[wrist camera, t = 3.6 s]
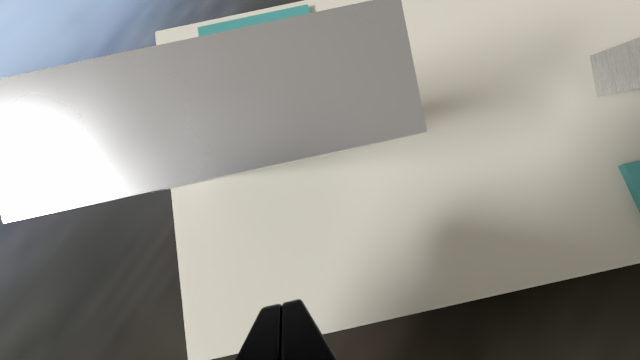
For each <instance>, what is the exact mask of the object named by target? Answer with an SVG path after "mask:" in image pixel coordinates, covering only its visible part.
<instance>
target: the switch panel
mask: <svg viewBox="0 0 640 360" xmlns="http://www.w3.org/2000/svg"><path fill="white" fill-rule="evenodd" d="M366 1H370V0H305V1H300V2H295V3H290V4H285V5H281V6H276V7H271V8H266V9H262V10H257V11H252V12H247V13H242V14H238V15H233V16H228V17H223V18H219V19H214V20H209V21H204V22H199V23H195V24H190V25H185V26H180V27H176V28H171V29H166V30H161V31H156V32H155V35H156V45H161V44H166V43H170V42H175V41H180V40H185V39H189V38H194V37H199V36H204V35H208V34H213V33H218V32H223V31H227V30H232V29H237V28H242V27H246V26H251V25H256V24H261V23H266V22H270V21H275V20H280V19H285V18H289V17H294V16H299V15H304V14H308V13H313V12H318V11H323V10H327V9H332V8H337V7H342V6H346V5H351V4H356V3H361V2H366ZM401 2H402V7H403V12H404V17H405V22H406V27H407V32H408V37H409V42H410V47H411V52H412V57H413V62H414V67H415V72H416V77H417V82H418V88H419V93H420V98H421V103H422V108H423V113H424V118H425V123H426V128H427V132H424V133H420V134H416V135H411V136H407V137H403V138H399V139H395V140H390V141H386V142H382V143H378V144H374V145H369V146H365V147H361V148H357V149H353V150H348V151H344V152H340V153H335V154H330V155H326V156H321V157H316V158H312V159H307V160H303V161H298V162H293V163H289V164H284V165H280V166H275V167H270V168H266V169H261V170H256V171H252V172H247V173H243V174H238V175H233V176H229V177H224V178H219V179H215V180H210V181H205V182H200V183H196V184H191V185H186V186H181V187H176V188H172V189H171V195H172V205H173V215H174V225H175V235H176V245H177V255H178V265H179V275H180V285H181V295H182V305H183V315H184V325H185V335H186V345H187V355H188V360H211V359H215V358H219V357H224V356H228V355H233V354H237V353H239V351H240V349H241V347H242V345H243V343H244V341H245V339H246V337H247V335H248V334H249V332H250V330H251V328H252V326H253V324H254V322H255V320H256V318H257V316H258V314H259V312H260V310H261V309H262V308H263V307H266V306H270V305H274V304H281V305H282V304H283V303H284V302H288V301H292V300H297V299H301V300H302V301H303V303H304V305H305V306H306V308H307V310H308V311H309V313H310V315H311V316H312V318H313V320H314V321H315V323H316V325H317V326H318V328H319V330H320V331H321V333H322V334H326V333H331V332H335V331H340V330H344V329H349V328H353V327H357V326H362V325H366V324H371V323H375V322H380V321H384V320H389V319H393V318H398V317H402V316H406V315H411V314H415V313H420V312H424V311H429V310H433V309H438V308H442V307H447V306H451V305H455V304H460V303H464V302H469V301H473V300H478V299H482V298H487V297H491V296H495V295H500V294H504V293H509V292H513V291H518V290H522V289H527V288H531V287H536V286H540V285H544V284H549V283H553V282H558V281H562V280H567V279H571V278H576V277H580V276H585V275H589V274H593V273H598V272H602V271H607V270H611V269H616V268H620V267H625V266H629V265H634V264H638V263H640V88H635V89H630V90H626V91H621V92H617V93H612V94H607V95H603V96H598V97H597V95H596V89H595V83H594V78H593V72H592V66H591V60H590V55H593V54H596V53H598V52H601V51H604V50H607V49H609V48H612V47H615V46H617V45H620V44H623V43H625V42H628V41H631V40H634V39H636V38H639V37H640V0H401Z"/></svg>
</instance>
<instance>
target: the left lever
mask: <svg viewBox="0 0 640 360" xmlns="http://www.w3.org/2000/svg"><path fill="white" fill-rule="evenodd" d="M424 132H427V128H426V123H425V118H424V113H423V108H422V103H421V98H420V93H419V88H418V82H417V77H416V72H415V67H414V62H413V57H412V52H411V47H410V42H409V37H408V32H407V27H406V22H405V17H404V12H403V7H402V2H401V0H370V1H366V2H361V3H356V4H351V5H346V6H342V7H337V8H332V9H327V10H323V11H318V12H313V13H308V14H304V15H299V16H294V17H289V18H285V19H280V20H275V21H270V22H266V23H261V24H256V25H251V26H246V27H242V28H237V29H232V30H227V31H223V32H218V33H213V34H208V35H204V36H199V37H194V38H189V39H185V40H180V41H175V42H170V43H166V44H161V45H156V46H151V47H146V48H142V49H137V50H132V51H127V52H123V53H118V54H113V55H108V56H104V57H99V58H94V59H89V60H85V61H80V62H75V63H70V64H65V65H61V66H56V67H51V68H46V69H42V70H37V71H32V72H27V73H23V74H18V75H13V76H8V77H4V78H0V212H1V216H2V220H3V223H8V222H13V221H18V220H23V219H27V218H32V217H37V216H42V215H47V214H51V213H56V212H61V211H66V210H71V209H75V208H80V207H85V206H90V205H95V204H99V203H104V202H109V201H114V200H119V199H123V198H128V197H133V196H138V195H143V194H148V193H152V192H157V191H162V190H167V189H172V188H176V187H181V186H186V185H191V184H196V183H200V182H205V181H210V180H215V179H219V178H224V177H229V176H233V175H238V174H243V173H247V172H252V171H256V170H261V169H266V168H270V167H275V166H280V165H284V164H289V163H293V162H298V161H303V160H307V159H312V158H316V157H321V156H326V155H330V154H335V153H340V152H344V151H348V150H353V149H357V148H361V147H365V146H369V145H374V144H378V143H382V142H386V141H390V140H395V139H399V138H403V137H407V136H411V135H416V134H420V133H424Z"/></svg>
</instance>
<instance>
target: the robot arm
mask: <svg viewBox="0 0 640 360" xmlns="http://www.w3.org/2000/svg"><path fill="white" fill-rule="evenodd" d="M235 360H337V358H336V356H335V355H334V353H333V351H332V350H331V348H330V346H329V345H328V343H327V341H326V340H325V338H324V336H323V335H322V333H321V331H320V330H319V328H318V326H317V325H316V323H315V321H314V320H313V318H312V316H311V315H310V313H309V311H308V310H307V308H306V306H305V305H304V303H303V301H302V300H301V299H297V300H292V301H288V302H284V303H283V304H282V305H281V304H274V305H270V306H266V307H263V308H262V309H261V310H260V312H259V314H258V316H257V318H256V320H255V322H254V324H253V326H252V328H251V330H250V332H249V334H248V335H247V337H246V339H245V341H244V343H243V345H242V347H241V349H240V351H239V353H238V355H237V357H236V359H235Z"/></svg>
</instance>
